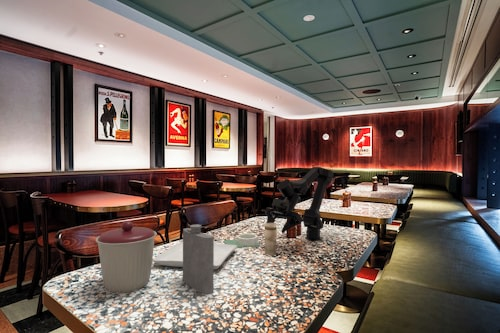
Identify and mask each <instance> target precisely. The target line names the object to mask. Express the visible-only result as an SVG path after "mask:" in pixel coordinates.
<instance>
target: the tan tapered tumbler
mask: <svg viewBox="0 0 500 333" xmlns="http://www.w3.org/2000/svg"><path fill="white" fill-rule="evenodd" d="M264 254H265V255H266V256H273V255H276V254H277V223H275V222H274V223H267V222H266V223H264Z"/></svg>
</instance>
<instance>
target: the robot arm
mask: <svg viewBox="0 0 500 333" xmlns="http://www.w3.org/2000/svg"><path fill="white" fill-rule="evenodd" d="M334 175H335V174H334V172H333V171H332V170H331V169H326V168H323V167H321V166H312V167H311V169H310V170H309V171H308V172H307V173H306V174H304V176H303V177H302V178H300V179H297V180H295V181H293V182H292V183H291V181H290V179H289V178H286V179H285V178H284V180H281V182H279V183H278V184H277V189H278V190H279V192H280V194H281V195H282V197H284V199H278V198H274V199H273V200H272V203H271V206H272V207H266V208H265V209H264V213H265V215H266V216H267V217H266V223H275V222H276V219H278V217H279V218H284V219H286V220H285V223H284V225H283V227H282V230H281V233H282V234H283V233H285V232H287V231H288V230H290V229H292V228H294V227H295V226H298V225H301V224H302V222H303V227H305V228H306V231H305V232H306V234H305V235H306V236H305V239H306V240H309V241H311V242H314V241H315V242H317V241H321V240H323V238H321V230H322V229H324V223H323V221H322V219H321V218H322V216H321V212H320V209H321V207H322V203H323V199H324V196H325V194H326V190H327V187H328V185H330V184H331V183H332V180H333V179H334ZM315 180H316V181H317V185H316V187H315V190H314V194H313V197H312V200H311V204H310V207H308V208H305V210H304V213H303V215H302V216H303V217H302V216H301V214H299V212H298V211H296V208H295V207H296V206H297V204H298V203H302V199H301V196H299V195H305V194H306V193H307V191H308V190H309V186H310V185H311V183H313V182H314V181H315ZM273 207H275V209H274V208H273Z"/></svg>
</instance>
